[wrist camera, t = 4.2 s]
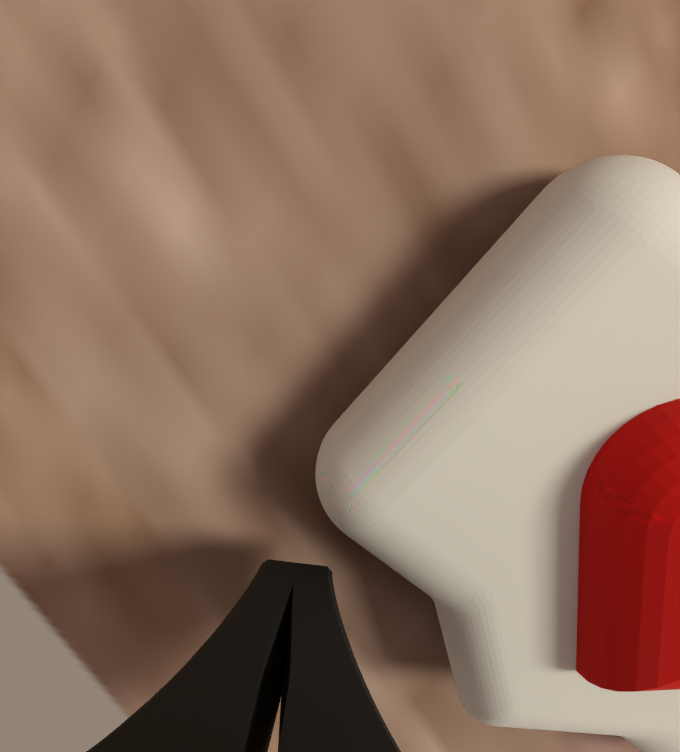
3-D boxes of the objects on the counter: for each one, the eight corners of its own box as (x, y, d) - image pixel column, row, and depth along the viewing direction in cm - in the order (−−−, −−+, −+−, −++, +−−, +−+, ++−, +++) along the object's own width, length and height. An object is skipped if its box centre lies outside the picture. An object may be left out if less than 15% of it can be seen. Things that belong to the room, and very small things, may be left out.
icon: (198, 642, 9) (723, 83, 6) (250, 498, 13) (578, 127, 10) (720, 983, 11) (1277, 672, 8) (621, 765, 15) (972, 512, 12)
